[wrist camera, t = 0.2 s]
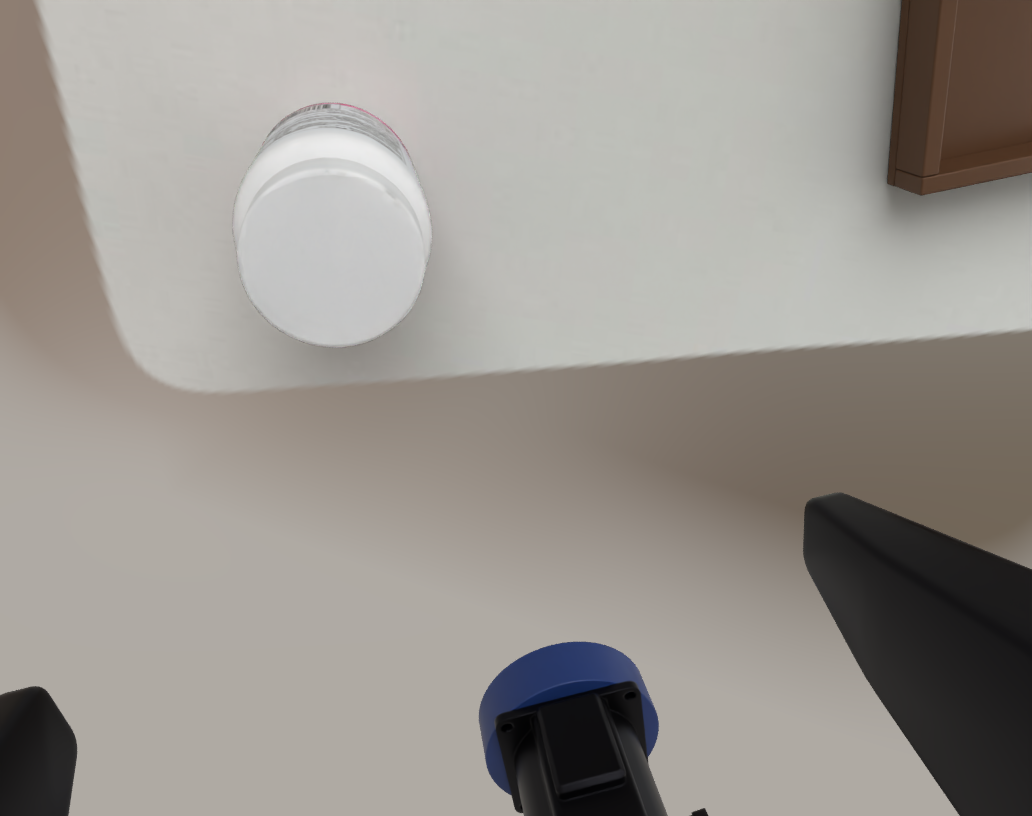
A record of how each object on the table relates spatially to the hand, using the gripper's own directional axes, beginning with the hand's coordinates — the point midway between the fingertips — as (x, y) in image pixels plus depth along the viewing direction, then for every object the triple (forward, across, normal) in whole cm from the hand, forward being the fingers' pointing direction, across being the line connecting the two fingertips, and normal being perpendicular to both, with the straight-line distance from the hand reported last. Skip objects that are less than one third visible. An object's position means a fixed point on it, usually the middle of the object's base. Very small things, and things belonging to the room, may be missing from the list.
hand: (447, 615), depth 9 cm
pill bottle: (+18, +1, -2) cm, 18 cm away
